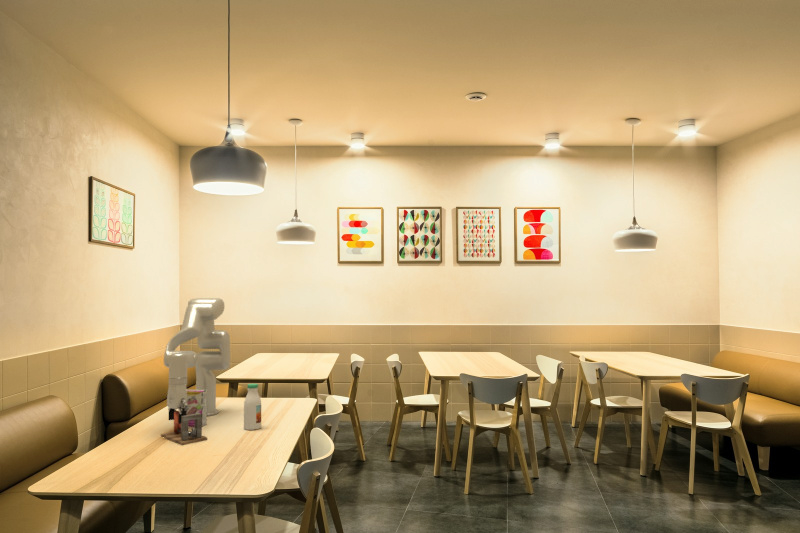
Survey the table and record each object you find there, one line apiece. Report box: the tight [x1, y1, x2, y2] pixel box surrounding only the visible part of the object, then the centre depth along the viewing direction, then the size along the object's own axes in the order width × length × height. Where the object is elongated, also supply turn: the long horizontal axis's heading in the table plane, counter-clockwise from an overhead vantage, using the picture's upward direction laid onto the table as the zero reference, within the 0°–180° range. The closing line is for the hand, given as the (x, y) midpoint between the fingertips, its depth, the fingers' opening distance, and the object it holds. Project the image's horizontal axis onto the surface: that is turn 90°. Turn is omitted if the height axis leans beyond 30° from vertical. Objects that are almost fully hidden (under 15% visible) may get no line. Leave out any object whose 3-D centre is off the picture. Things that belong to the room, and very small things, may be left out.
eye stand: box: [160, 413, 208, 446], centre depth 237 cm, size 20×11×11 cm, turn 46°
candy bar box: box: [181, 388, 208, 428], centre depth 259 cm, size 11×5×16 cm, turn 84°
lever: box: [173, 410, 196, 438], centre depth 237 cm, size 17×3×9 cm, turn 46°
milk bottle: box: [243, 383, 262, 431], centre depth 254 cm, size 8×8×20 cm
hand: (177, 421), depth 241 cm, fingers open, 9 cm apart
